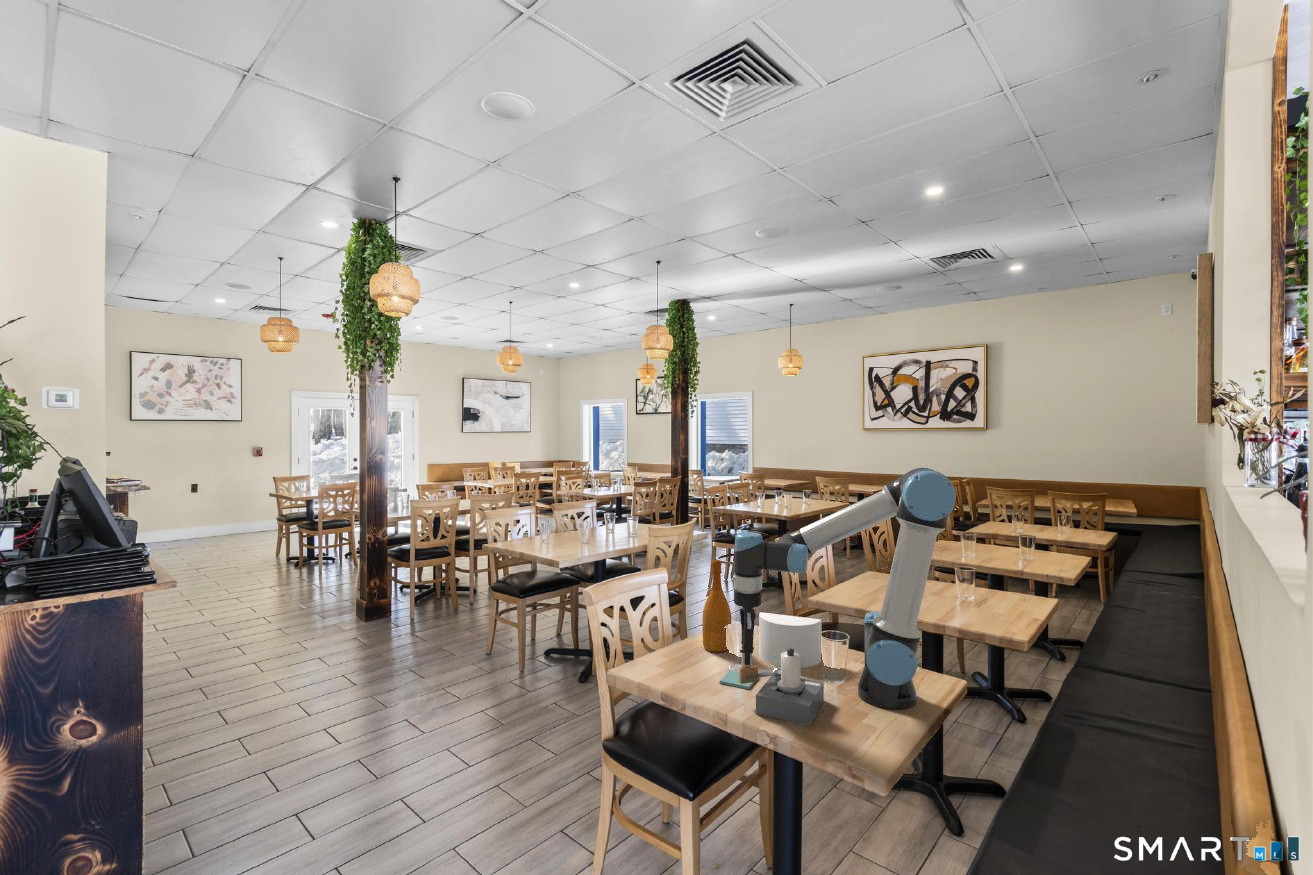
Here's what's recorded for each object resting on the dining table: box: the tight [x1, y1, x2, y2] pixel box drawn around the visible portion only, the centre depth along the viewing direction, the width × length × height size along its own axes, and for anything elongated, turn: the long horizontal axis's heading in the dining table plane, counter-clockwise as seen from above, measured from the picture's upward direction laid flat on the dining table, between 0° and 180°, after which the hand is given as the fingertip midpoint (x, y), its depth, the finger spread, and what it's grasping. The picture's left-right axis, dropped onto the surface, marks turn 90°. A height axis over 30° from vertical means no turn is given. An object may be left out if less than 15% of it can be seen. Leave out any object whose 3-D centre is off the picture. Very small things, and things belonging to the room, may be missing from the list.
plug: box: [777, 648, 804, 696], centre depth 162 cm, size 7×7×16 cm
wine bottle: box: [701, 559, 732, 653], centre depth 206 cm, size 10×10×30 cm
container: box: [758, 612, 823, 669], centre depth 199 cm, size 20×20×13 cm
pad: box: [719, 669, 760, 690], centre depth 179 cm, size 9×9×1 cm
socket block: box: [755, 676, 825, 727], centre depth 162 cm, size 14×16×6 cm
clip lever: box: [738, 665, 781, 684], centre depth 167 cm, size 18×3×4 cm, turn 107°
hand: (746, 674), depth 167 cm, fingers closed
